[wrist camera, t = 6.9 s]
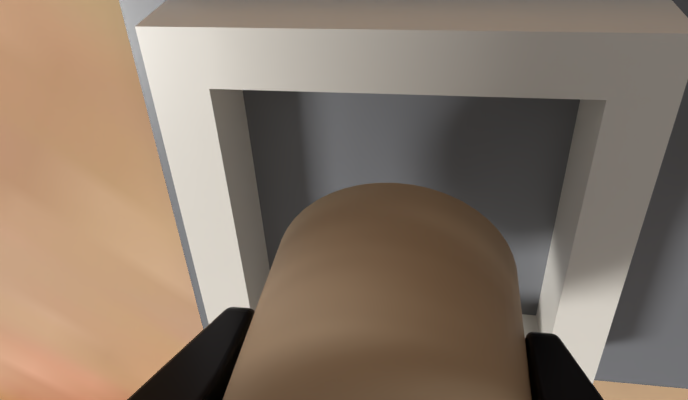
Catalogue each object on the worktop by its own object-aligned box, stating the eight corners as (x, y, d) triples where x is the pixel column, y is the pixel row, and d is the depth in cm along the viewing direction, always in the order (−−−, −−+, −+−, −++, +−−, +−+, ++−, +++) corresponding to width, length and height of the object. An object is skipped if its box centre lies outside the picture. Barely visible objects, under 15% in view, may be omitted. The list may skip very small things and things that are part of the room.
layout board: (1222, -92, 8) (1671, -6, 5) (876, 378, 14) (991, 548, 11) (123, -77, 11) (-13, -11, 8) (217, 321, 16) (162, 449, 13)
